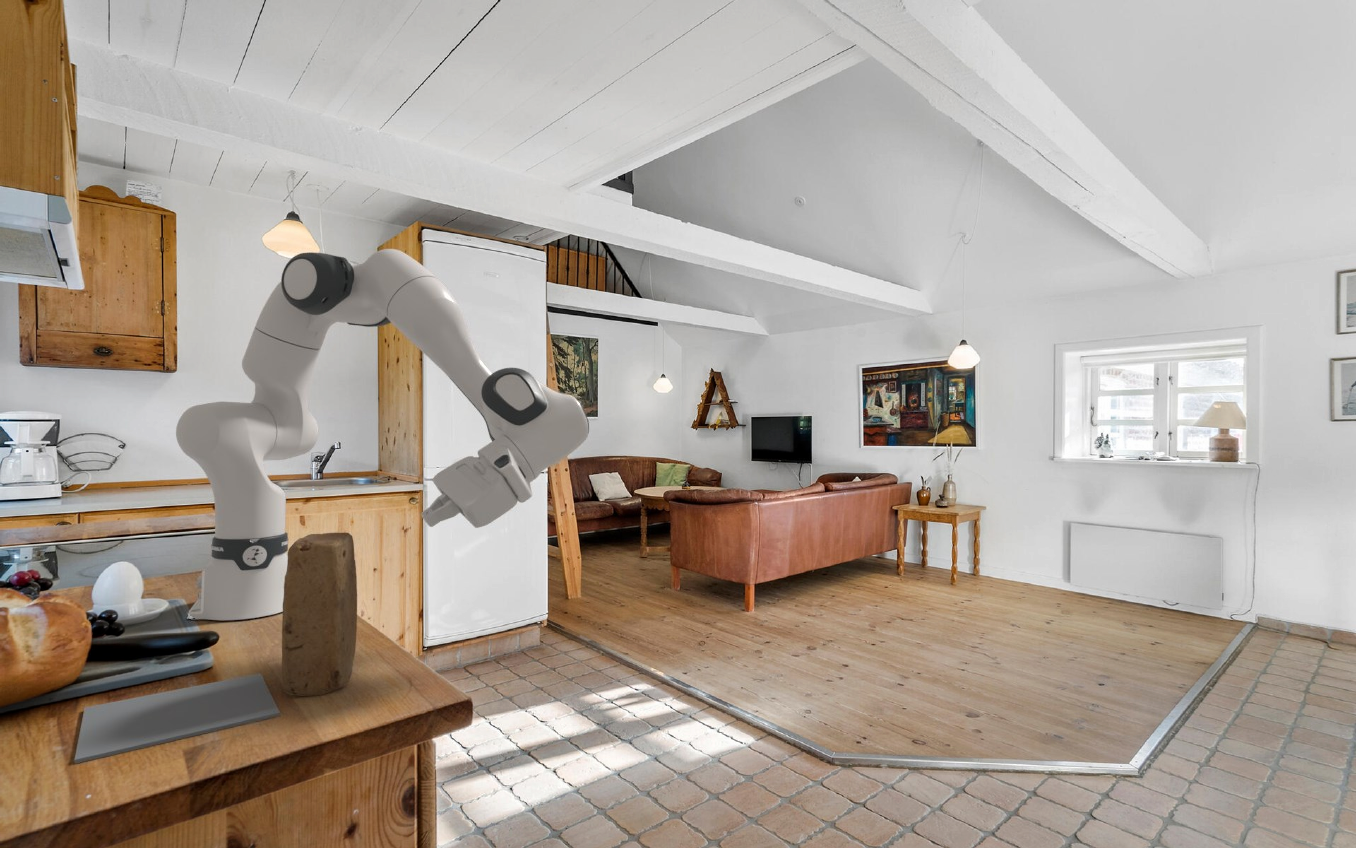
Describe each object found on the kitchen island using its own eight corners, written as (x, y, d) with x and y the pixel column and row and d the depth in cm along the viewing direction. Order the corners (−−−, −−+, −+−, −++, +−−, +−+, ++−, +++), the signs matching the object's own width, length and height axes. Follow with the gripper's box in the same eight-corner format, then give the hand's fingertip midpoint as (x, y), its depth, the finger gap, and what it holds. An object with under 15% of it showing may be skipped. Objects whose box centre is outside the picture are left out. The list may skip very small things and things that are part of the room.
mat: (84, 710, 78) (84, 707, 78) (260, 676, 90) (260, 673, 90) (74, 764, 66) (74, 760, 66) (279, 716, 77) (279, 712, 77)
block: (339, 697, 83) (342, 541, 83) (274, 702, 81) (277, 542, 82) (362, 667, 94) (364, 528, 94) (305, 671, 92) (307, 529, 92)
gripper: (472, 439, 110) (398, 487, 105) (515, 466, 93) (430, 525, 88) (491, 468, 113) (420, 516, 107) (536, 500, 96) (454, 559, 91)
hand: (425, 520), depth 98 cm, fingers closed
